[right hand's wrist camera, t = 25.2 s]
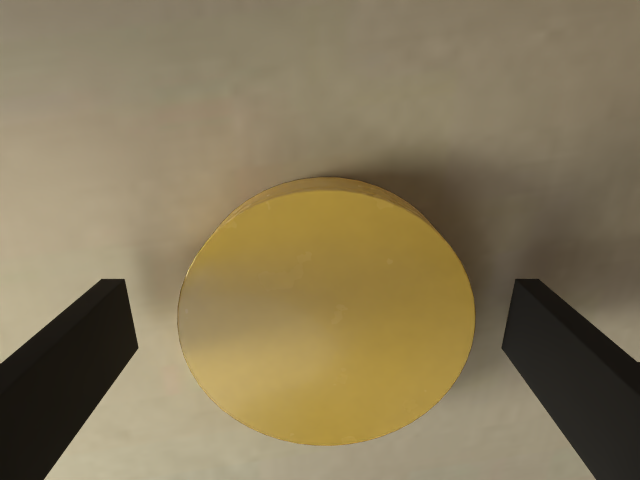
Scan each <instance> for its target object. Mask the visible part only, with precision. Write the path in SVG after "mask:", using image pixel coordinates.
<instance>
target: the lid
mask: <svg viewBox="0 0 640 480" xmlns="http://www.w3.org/2000/svg"><path fill="white" fill-rule="evenodd" d="M475 313H476V312H475V304H474V296H473V292H472V288H471V285H470V281H469V278H468V276H467V274H466V271H465V269H464V267H463V265H462V263H461V261H460V259H459V258H458V256H457V255H456V253H455V252H454V250H453V249H452V247H451V246H450V245H449V244H448V242H447V241H446V240H445V239H444V238H443V237H442V236H441V234H440V233H439V232H438V231H437V230H436V229H435V227H434V226H433V225H432V224H431V223H430V222H429V221H428V220H427V219H426V218H425V216H424V215H423V214H422V213H420V212H419V211H418V210H417V209H416V208H414V207H413V206H412V205H411V204H410V203H408V202H407V201H405V200H403V199H402V198H400V197H399V196H397V195H395V194H394V193H392V192H389V191H387V190H385V189H383V188H380V187H378V186H376V185H372V184H369V183H365V182H362V181H358V180H352V179H345V178H339V177H316V178H307V179H299V180H295V181H291V182H287V183H283V184H280V185H277V186H275V187H272V188H270V189H267V190H265V191H263V192H261V193H259V194H257V195H256V196H254V197H252V198H250V199H248V200H247V201H246V202H244V203H243V204H242V205H240V206H239V207H238V208H236V209H235V210H234V211H233V212H232V213H231V214H230V215H229V216H228V217H227V218H226V219H225V220H224V221H223V222H222V223H221V224H220V225H219V226H218V228H217V229H216V230H215V232H214V233H213V234H212V235H211V237H210V238H209V239H208V240H207V242H206V243H205V244H204V246H203V247H202V248H201V250H200V251H199V252H198V254H197V255H196V256H195V258H194V260H193V262H192V264H191V266H190V268H189V270H188V271H187V273H186V276H185V279H184V282H183V285H182V288H181V292H180V297H179V303H178V318H177V325H178V333H179V340H180V344H181V348H182V351H183V355H184V358H185V360H186V362H187V364H188V366H189V369H190V371H191V373H192V374H193V376H194V378H195V379H196V381H197V382H198V384H199V385H200V387H201V388H202V389H203V390H204V392H205V393H206V394H207V395H208V396H209V398H210V399H211V400H212V401H213V402H215V403H216V404H217V405H218V406H219V407H220V408H221V409H222V410H223V411H225V412H226V413H227V414H229V415H230V416H231V417H233V418H234V419H235V420H237V421H239V422H241V423H242V424H244V425H246V426H247V427H249V428H251V429H254V430H256V431H258V432H260V433H262V434H265V435H268V436H271V437H274V438H277V439H280V440H284V441H289V442H293V443H298V444H307V445H321V446H334V445H346V444H353V443H358V442H364V441H368V440H371V439H375V438H378V437H382V436H384V435H387V434H389V433H392V432H394V431H396V430H399V429H400V428H402V427H404V426H406V425H408V424H410V423H412V422H413V421H415V420H416V419H418V418H419V417H421V416H422V415H423V414H425V413H426V412H427V411H429V410H430V409H431V408H432V407H433V406H434V405H436V404H437V403H438V402H439V401H440V400H441V399H442V397H443V396H444V395H445V394H446V393H447V392H448V391H449V390H450V388H451V387H452V385H453V384H454V383H455V381H456V380H457V378H458V377H459V375H460V373H461V371H462V369H463V367H464V365H465V363H466V361H467V358H468V356H469V353H470V350H471V347H472V342H473V337H474V332H475Z"/></svg>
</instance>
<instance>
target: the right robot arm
mask: <svg viewBox="0 0 640 480" xmlns="http://www.w3.org/2000/svg"><path fill="white" fill-rule="evenodd" d="M137 349H138V343H137V338H136V333H135V328H134V323H133V318H132V313H131V308H130V303H129V298H128V293H127V289H126V284H125V279H101V280H100V281H99V282H98V283H96V284H95V285H94V286H93V287H92V288H90V289H89V290H88V291H87V292H86V293H84V294H83V295H82V296H81V297H80V298H78V299H77V300H76V301H75V302H74V303H73V304H71V305H70V306H69V307H68V308H67V309H65V310H64V311H63V312H62V313H61V314H59V315H58V316H57V317H56V318H55V319H53V320H52V321H51V322H50V323H49V324H48V325H46V326H45V327H44V328H43V329H42V330H40V331H39V332H38V333H37V334H36V335H34V336H33V337H32V338H31V339H30V340H28V341H27V342H26V343H25V344H24V345H22V346H21V347H20V348H19V349H18V350H17V351H15V352H14V353H13V354H12V355H11V356H9V357H8V358H7V359H6V360H5V361H3V362H2V363H0V480H44V479H45V477H46V476H47V474H48V473H49V472H50V470H51V469H52V467H53V466H54V465H55V463H56V462H57V460H58V459H59V458H60V456H61V455H62V454H63V452H64V451H65V449H66V448H67V447H68V445H69V444H70V442H71V441H72V440H73V438H74V437H75V435H76V434H77V433H78V431H79V430H80V429H81V427H82V426H83V424H84V423H85V422H86V420H87V419H88V417H89V416H90V415H91V413H92V412H93V410H94V409H95V408H96V406H97V405H98V404H99V402H100V401H101V399H102V398H103V397H104V395H105V394H106V392H107V391H108V390H109V388H110V387H111V385H112V384H113V383H114V381H115V380H116V378H117V377H118V376H119V374H120V373H121V372H122V370H123V369H124V367H125V366H126V365H127V363H128V362H129V360H130V359H131V358H132V356H133V355H134V353H135V352H136V351H137ZM502 349H503V351H504V352H505V353H506V355H507V356H508V358H509V359H510V360H511V362H512V363H513V365H514V366H515V367H516V369H517V370H518V372H519V373H520V374H521V376H522V377H523V378H524V380H525V381H526V383H527V384H528V385H529V387H530V388H531V390H532V391H533V392H534V394H535V395H536V397H537V398H538V399H539V401H540V402H541V404H542V405H543V406H544V408H545V409H546V410H547V412H548V413H549V415H550V416H551V417H552V419H553V420H554V422H555V423H556V424H557V426H558V427H559V429H560V430H561V431H562V433H563V434H564V435H565V437H566V438H567V440H568V441H569V442H570V444H571V445H572V447H573V448H574V449H575V451H576V452H577V454H578V455H579V456H580V458H581V459H582V460H583V462H584V463H585V465H586V466H587V467H588V469H589V470H590V472H591V473H592V474H593V476H594V477H595V479H596V480H640V362H637V361H635V360H634V359H633V358H632V357H631V356H629V355H628V354H627V353H626V352H625V351H623V350H622V349H621V348H620V347H619V346H618V345H616V344H615V343H614V342H613V341H612V340H610V339H609V338H608V337H607V336H606V335H604V334H603V333H602V332H601V331H600V330H598V329H597V328H596V327H595V326H594V325H592V324H591V323H590V322H589V321H588V320H587V319H585V318H584V317H583V316H582V315H581V314H579V313H578V312H577V311H576V310H575V309H573V308H572V307H571V306H570V305H569V304H567V303H566V302H565V301H564V300H563V299H562V298H560V297H559V296H558V295H557V294H556V293H554V292H553V291H552V290H551V289H550V288H548V287H547V286H546V285H545V284H544V283H542V282H541V281H540V280H539V279H515V284H514V289H513V293H512V298H511V303H510V308H509V313H508V318H507V323H506V328H505V333H504V338H503V343H502Z"/></svg>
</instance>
